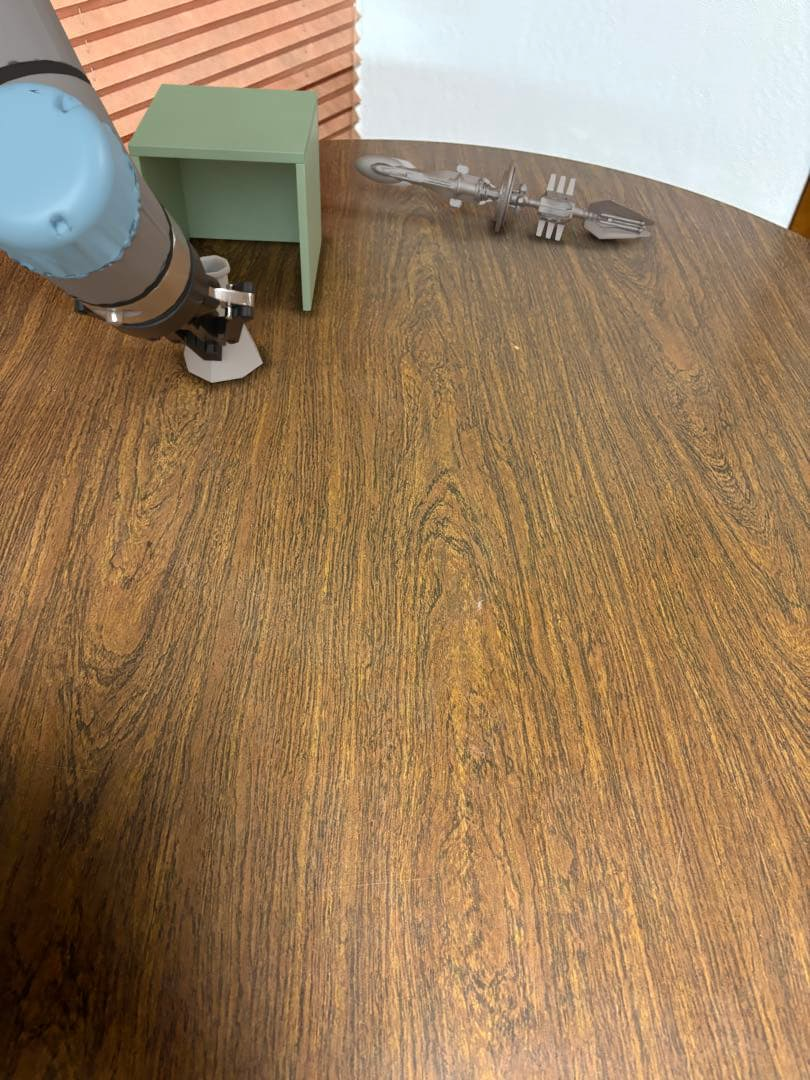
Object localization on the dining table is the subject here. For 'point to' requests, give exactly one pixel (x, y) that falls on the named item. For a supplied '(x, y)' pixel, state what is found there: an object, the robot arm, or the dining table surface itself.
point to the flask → (234, 356)
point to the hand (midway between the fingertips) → (213, 345)
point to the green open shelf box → (236, 165)
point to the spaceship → (511, 197)
